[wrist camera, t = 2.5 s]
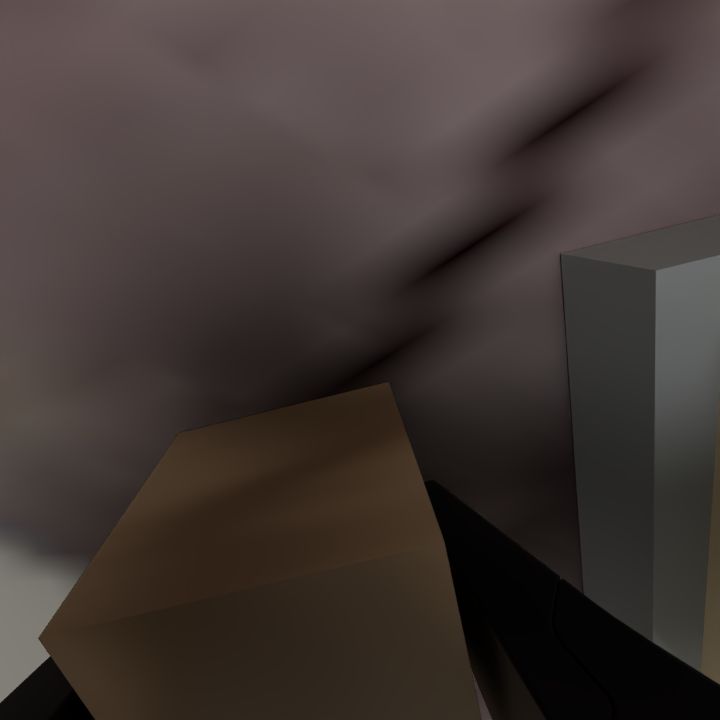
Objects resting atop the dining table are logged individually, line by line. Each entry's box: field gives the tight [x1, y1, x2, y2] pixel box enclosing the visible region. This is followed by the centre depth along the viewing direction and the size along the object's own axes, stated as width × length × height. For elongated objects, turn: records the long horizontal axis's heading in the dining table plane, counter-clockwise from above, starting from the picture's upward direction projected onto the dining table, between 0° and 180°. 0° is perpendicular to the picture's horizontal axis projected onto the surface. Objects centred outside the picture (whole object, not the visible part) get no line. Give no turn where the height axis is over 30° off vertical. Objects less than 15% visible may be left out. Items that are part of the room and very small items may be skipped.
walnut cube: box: [38, 382, 482, 720], centre depth 7 cm, size 4×4×4 cm
